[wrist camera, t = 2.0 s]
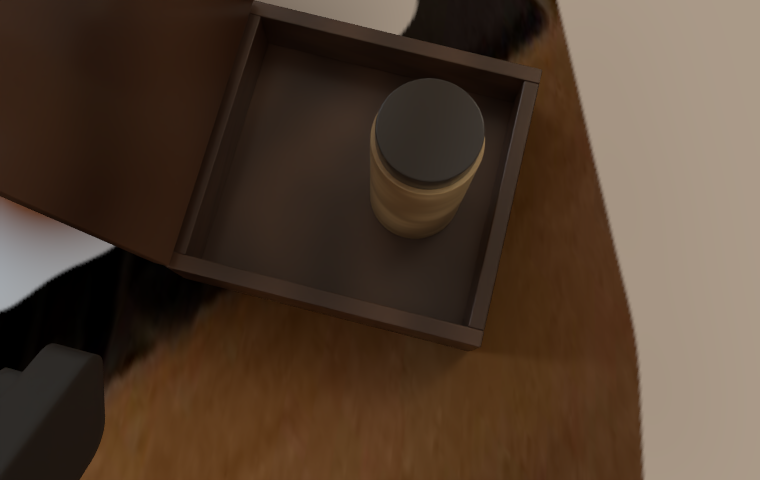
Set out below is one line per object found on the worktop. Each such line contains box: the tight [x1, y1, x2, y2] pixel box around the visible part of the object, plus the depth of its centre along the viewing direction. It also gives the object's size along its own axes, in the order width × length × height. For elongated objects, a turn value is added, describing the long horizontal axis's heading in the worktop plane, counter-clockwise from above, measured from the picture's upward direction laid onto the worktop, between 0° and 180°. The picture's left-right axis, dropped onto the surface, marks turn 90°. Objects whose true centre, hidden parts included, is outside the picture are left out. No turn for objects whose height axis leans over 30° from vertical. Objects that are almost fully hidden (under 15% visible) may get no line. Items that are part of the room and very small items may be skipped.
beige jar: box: [370, 78, 485, 239], centre depth 34 cm, size 5×5×10 cm
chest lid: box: [0, 0, 254, 266], centre depth 28 cm, size 16×15×1 cm
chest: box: [165, 0, 542, 351], centre depth 37 cm, size 16×15×4 cm
